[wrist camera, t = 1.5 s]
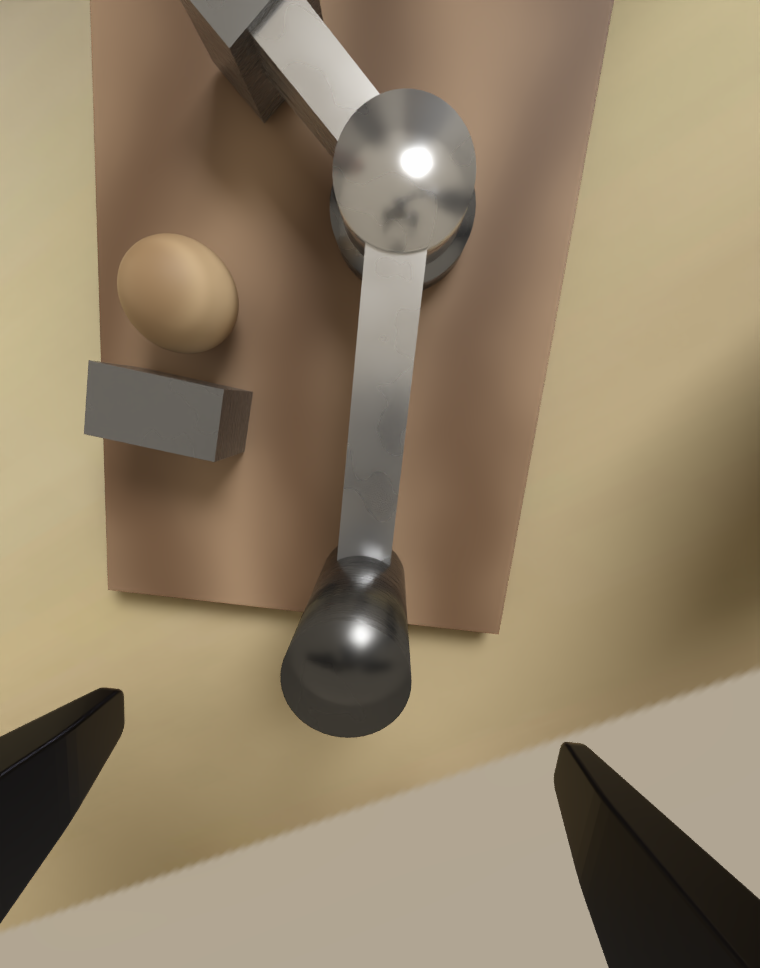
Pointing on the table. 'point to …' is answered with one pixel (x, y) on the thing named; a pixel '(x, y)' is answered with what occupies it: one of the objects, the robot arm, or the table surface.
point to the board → (340, 297)
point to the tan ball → (177, 293)
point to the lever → (381, 328)
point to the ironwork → (206, 383)
